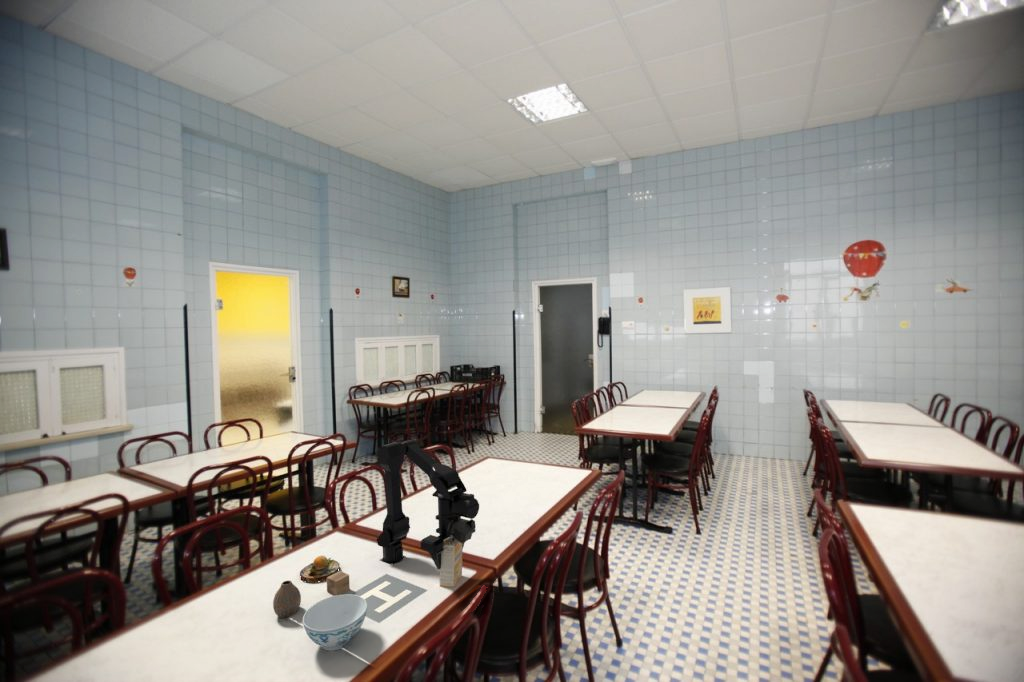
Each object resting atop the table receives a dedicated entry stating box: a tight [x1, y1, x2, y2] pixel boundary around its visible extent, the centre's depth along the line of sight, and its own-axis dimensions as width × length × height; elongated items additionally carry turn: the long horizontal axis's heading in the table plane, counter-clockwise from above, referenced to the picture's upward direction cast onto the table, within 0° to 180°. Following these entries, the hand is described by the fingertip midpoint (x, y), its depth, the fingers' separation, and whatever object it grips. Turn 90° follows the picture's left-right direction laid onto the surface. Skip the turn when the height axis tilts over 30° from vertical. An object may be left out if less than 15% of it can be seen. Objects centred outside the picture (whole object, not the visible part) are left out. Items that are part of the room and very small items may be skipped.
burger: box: [299, 555, 340, 583], centre depth 150 cm, size 12×12×8 cm
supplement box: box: [439, 536, 463, 588], centre depth 142 cm, size 8×5×13 cm, turn 168°
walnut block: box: [326, 570, 350, 596], centre depth 138 cm, size 4×4×5 cm
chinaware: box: [302, 593, 367, 652], centre depth 116 cm, size 15×15×8 cm
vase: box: [272, 580, 302, 619], centre depth 128 cm, size 7×7×9 cm
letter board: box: [351, 573, 428, 624], centre depth 135 cm, size 18×18×1 cm
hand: (449, 562), depth 143 cm, fingers closed on supplement box, 9 cm apart
